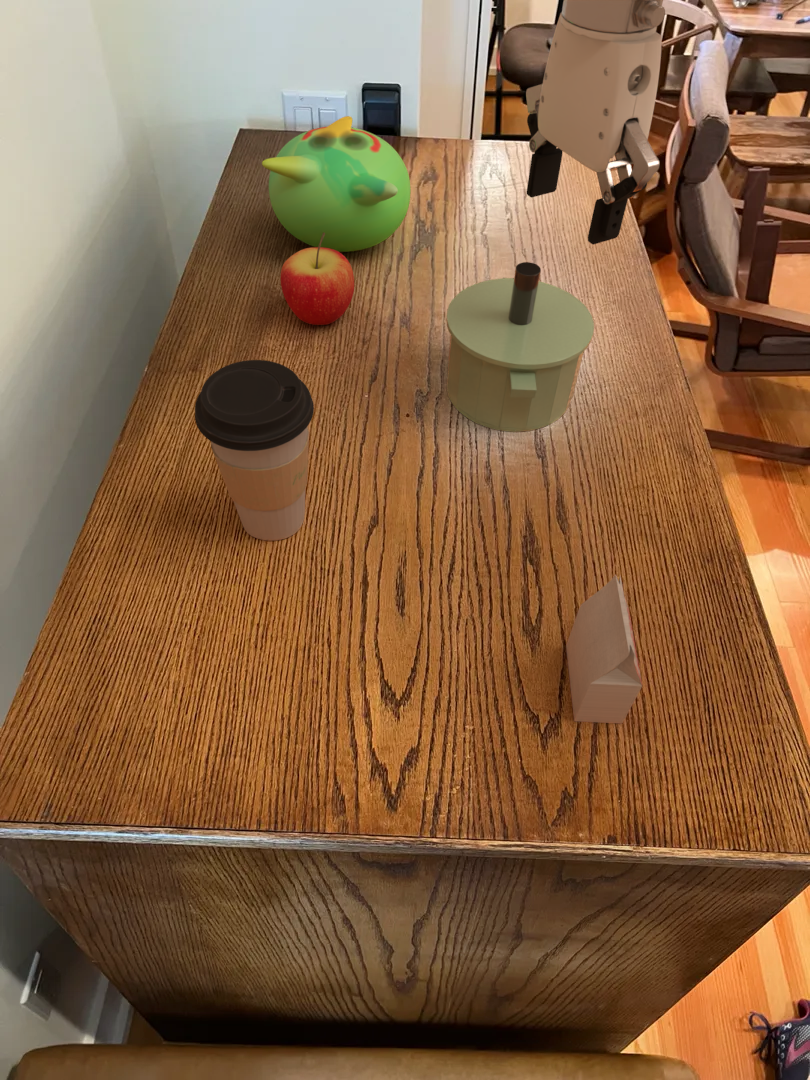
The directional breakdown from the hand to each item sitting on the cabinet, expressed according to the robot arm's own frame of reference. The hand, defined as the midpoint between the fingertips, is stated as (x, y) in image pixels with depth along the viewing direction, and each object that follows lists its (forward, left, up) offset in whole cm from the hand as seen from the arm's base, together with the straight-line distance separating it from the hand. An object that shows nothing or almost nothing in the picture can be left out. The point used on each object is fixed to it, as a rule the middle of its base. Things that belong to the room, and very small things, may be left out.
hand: (570, 215), depth 73 cm
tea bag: (-1, +40, -18) cm, 44 cm away
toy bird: (+25, -25, -18) cm, 40 cm away
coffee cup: (+27, +24, -18) cm, 40 cm away
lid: (+4, +4, -10) cm, 11 cm away
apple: (+26, -8, -18) cm, 33 cm away
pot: (+4, +4, -18) cm, 19 cm away
